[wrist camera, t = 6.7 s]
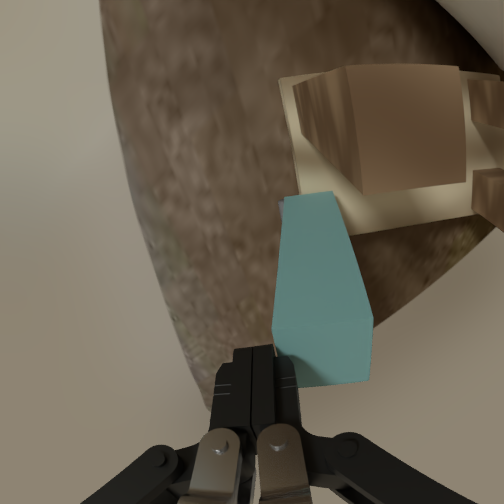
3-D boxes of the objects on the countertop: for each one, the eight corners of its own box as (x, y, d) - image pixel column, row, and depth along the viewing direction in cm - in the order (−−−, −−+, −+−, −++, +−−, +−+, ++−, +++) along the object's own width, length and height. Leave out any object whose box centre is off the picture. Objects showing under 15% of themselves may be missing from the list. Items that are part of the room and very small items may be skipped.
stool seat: (278, 80, 22) (313, 42, 6) (480, 74, 19) (629, 100, 4) (304, 227, 28) (347, 392, 12) (485, 199, 25) (601, 293, 10)
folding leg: (277, 197, 23) (257, 330, 11) (332, 189, 22) (373, 318, 10) (285, 239, 25) (273, 389, 13) (336, 233, 24) (369, 380, 12)
